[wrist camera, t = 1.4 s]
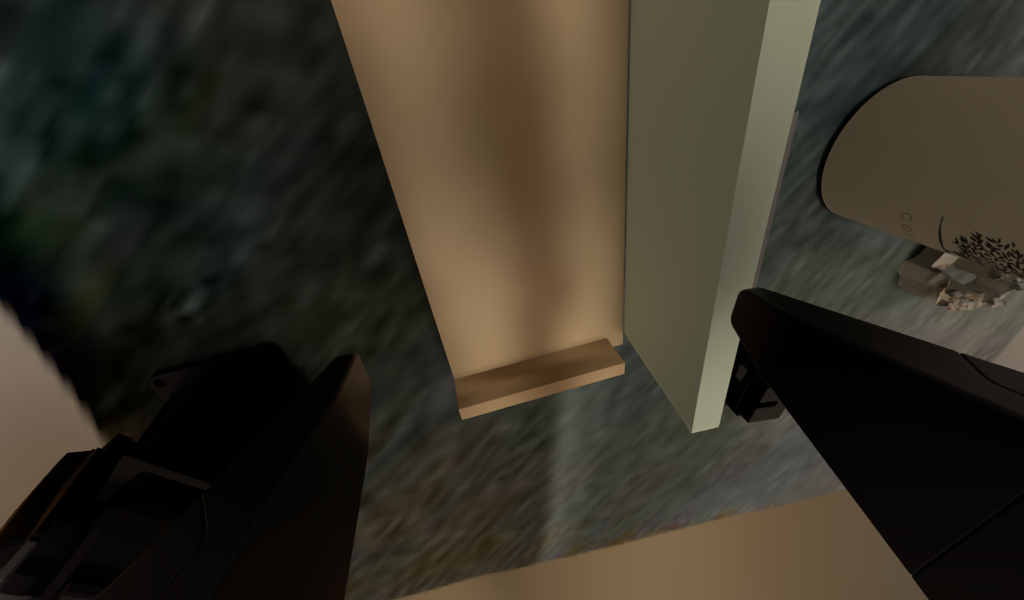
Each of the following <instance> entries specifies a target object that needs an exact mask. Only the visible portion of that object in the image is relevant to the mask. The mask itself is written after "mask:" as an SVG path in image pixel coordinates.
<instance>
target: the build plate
mask: <svg viewBox="0 0 1024 600" xmlns="http://www.w3.org/2000/svg"><path fill="white" fill-rule="evenodd" d="M725 406H729V407H730V408H731V410H732V411H733V412H734V413H735V414H736V415H737V416H742V417H743V418H744V419H745V420H746V421H747V422H748V423H750V422H757V421H763V420H770V419H776V418H779V417H780V415H781V414H782V412H783V411H784V409H785V406H784V405H783V404H782V402H781V401H780V400H779V398H778V397H777V396H776V394H775V393H774V392H773V390H772V389H771V388H770V386H769V385H768V384H767V382H766V381H765V379H764V378H763V376H762V375H761V373H760V372H759V370H758V368H757V367H756V365H755V363H754V362H753V360H752V358H751V357H750V355H749V353H748V352H747V350H746V349H745V347H744V345H743V344H742V342H741V340H739V344H738V348H737V352H736V356H735V361H734V365H733V369H732V373H731V377H730V381H729V386H728V390H727V394H726V398H725V402H724V406H723V407H725Z"/></svg>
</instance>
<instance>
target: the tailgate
mask: <svg viewBox="0 0 1024 600" xmlns="http://www.w3.org/2000/svg"><path fill="white" fill-rule="evenodd" d="M820 2H821V0H631V35H630V83H629V131H628V179H627V227H626V274H625V322H624V334H625V335H626V337H627V338H628V340H629V341H630V342H631V344H632V345H633V347H634V348H635V350H636V351H637V353H638V354H639V356H640V357H641V359H642V360H643V362H644V363H645V365H646V366H647V368H648V369H649V371H650V372H651V374H652V375H653V377H654V378H655V380H656V381H657V383H658V384H659V386H660V387H661V389H662V390H663V392H664V393H665V395H666V396H667V398H668V399H669V401H670V402H671V404H672V405H673V407H674V408H675V410H676V411H677V413H678V414H679V416H680V417H681V419H682V420H683V422H684V423H685V425H686V426H687V427H688V429H689V430H690V432H691V433H695V432H700V431H704V430H708V429H712V428H716V427H719V423H720V419H721V415H722V411H723V406H724V402H725V398H726V394H727V390H728V386H729V381H730V377H731V373H732V369H733V365H734V361H735V356H736V352H737V348H738V344H739V340H740V339H739V337H738V335H737V334H736V332H735V330H734V329H733V327H732V324H731V314H732V311H733V308H734V305H735V302H736V299H737V296H738V294H739V292H740V291H741V290H744V289H749V288H755V287H756V285H757V281H758V277H759V273H760V269H761V265H762V261H763V257H764V253H765V249H766V245H767V241H768V237H769V233H770V229H771V225H772V221H773V216H774V212H775V208H776V204H777V200H778V196H779V192H780V188H781V184H782V180H783V176H784V172H785V168H786V164H787V160H788V156H789V152H790V148H791V144H792V139H793V135H794V131H795V127H796V123H797V119H798V115H799V111H797V110H795V106H796V102H797V98H798V94H799V90H800V85H801V81H802V77H803V73H804V69H805V64H806V60H807V56H808V52H809V48H810V44H811V39H812V35H813V31H814V27H815V23H816V19H817V14H818V10H819V6H820Z"/></svg>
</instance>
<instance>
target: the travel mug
mask: <svg viewBox="0 0 1024 600" xmlns="http://www.w3.org/2000/svg"><path fill="white" fill-rule="evenodd" d="M821 193H822V198H823V201H824V203H825V205H826V207H827V208H828V209H829V210H830V211H831V212H833V213H834V214H836V215H839V216H842V217H845V218H848V219H851V220H853V221H856V222H859V223H862V224H865V225H868V226H871V227H874V228H876V229H879V230H882V231H885V232H888V233H891V234H894V235H897V236H899V237H902V238H905V239H908V240H911V241H914V242H917V243H920V244H922V245H925V246H928V247H931V248H934V249H937V250H940V251H943V252H945V253H948V254H951V255H954V256H957V257H960V258H963V259H966V260H968V261H971V262H974V263H977V264H980V265H983V266H986V267H989V268H992V269H994V270H997V271H1000V272H1003V273H1006V274H1009V275H1012V276H1015V277H1017V278H1020V279H1023V280H1024V77H974V76H912V77H907V78H904V79H901V80H899V81H897V82H895V83H893V84H891V85H889V86H887V87H886V88H884V89H883V90H881V91H880V92H878V93H877V94H876V95H874V96H873V97H872V98H871V99H870V100H868V101H867V102H866V103H865V104H864V105H863V106H862V107H861V108H860V109H859V110H858V111H857V112H856V113H855V115H854V116H853V117H852V118H851V119H850V121H849V122H848V123H847V124H846V126H845V127H844V129H843V130H842V131H841V133H840V135H839V136H838V138H837V139H836V141H835V143H834V145H833V147H832V149H831V151H830V153H829V155H828V158H827V161H826V163H825V167H824V170H823V175H822V181H821Z"/></svg>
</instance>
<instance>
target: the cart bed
mask: <svg viewBox="0 0 1024 600" xmlns="http://www.w3.org/2000/svg"><path fill="white" fill-rule="evenodd" d="M331 2H332V5H333V8H334V11H335V14H336V17H337V20H338V23H339V26H340V29H341V32H342V35H343V38H344V41H345V45H346V48H347V51H348V54H349V57H350V60H351V63H352V66H353V69H354V72H355V75H356V78H357V81H358V85H359V88H360V91H361V94H362V97H363V100H364V103H365V106H366V109H367V112H368V115H369V118H370V121H371V124H372V128H373V131H374V134H375V137H376V140H377V143H378V146H379V149H380V152H381V155H382V158H383V161H384V164H385V167H386V171H387V174H388V177H389V180H390V183H391V186H392V189H393V192H394V195H395V198H396V201H397V204H398V207H399V210H400V214H401V217H402V220H403V223H404V226H405V229H406V232H407V235H408V238H409V241H410V244H411V247H412V250H413V253H414V257H415V260H416V263H417V266H418V269H419V272H420V275H421V278H422V281H423V284H424V287H425V290H426V293H427V296H428V300H429V303H430V306H431V309H432V312H433V315H434V318H435V321H436V324H437V327H438V330H439V333H440V336H441V340H442V343H443V346H444V349H445V352H446V355H447V358H448V361H449V364H450V367H451V370H452V373H453V376H454V379H455V386H456V393H457V401H458V408H459V412H460V415H461V418H462V420H463V419H467V418H470V417H474V416H477V415H481V414H484V413H488V412H491V411H495V410H498V409H502V408H506V407H509V406H513V405H516V404H520V403H523V402H527V401H530V400H534V399H537V398H541V397H544V396H548V395H551V394H555V393H558V392H562V391H565V390H569V389H572V388H576V387H579V386H583V385H586V384H590V383H593V382H597V381H600V380H604V379H607V378H611V377H614V376H618V375H621V374H624V368H625V363H624V361H623V360H622V359H621V357H620V356H619V354H618V353H617V352H616V350H615V349H614V348H613V347H614V346H618V345H622V344H623V297H624V242H625V187H626V133H627V78H628V23H629V0H331Z"/></svg>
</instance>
